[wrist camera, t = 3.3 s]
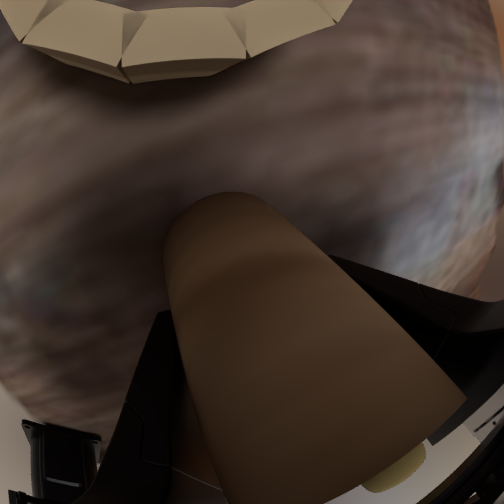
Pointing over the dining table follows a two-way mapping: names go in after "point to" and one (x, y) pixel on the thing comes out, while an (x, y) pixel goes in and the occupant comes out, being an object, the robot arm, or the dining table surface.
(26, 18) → the wooden ring
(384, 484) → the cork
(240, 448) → the walnut peg
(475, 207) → the dining table surface
